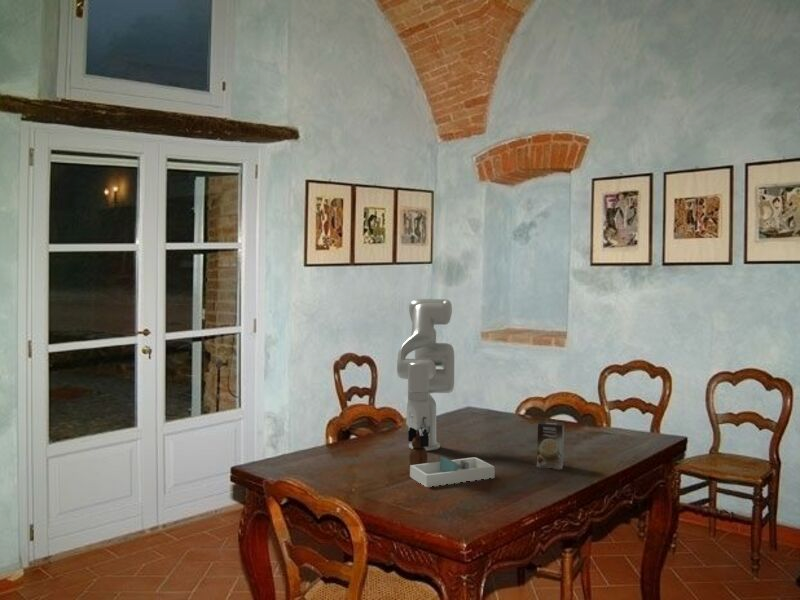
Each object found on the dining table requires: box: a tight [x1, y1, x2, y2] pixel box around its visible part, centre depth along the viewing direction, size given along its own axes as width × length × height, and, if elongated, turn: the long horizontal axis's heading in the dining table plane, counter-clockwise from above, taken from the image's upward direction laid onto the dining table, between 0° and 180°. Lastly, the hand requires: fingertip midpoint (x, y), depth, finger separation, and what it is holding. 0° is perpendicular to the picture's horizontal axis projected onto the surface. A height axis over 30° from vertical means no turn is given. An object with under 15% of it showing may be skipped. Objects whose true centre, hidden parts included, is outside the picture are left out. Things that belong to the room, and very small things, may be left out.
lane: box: [409, 456, 496, 488], centre depth 242 cm, size 13×26×4 cm, turn 114°
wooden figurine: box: [408, 429, 428, 465], centre depth 252 cm, size 7×6×15 cm
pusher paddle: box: [439, 455, 469, 472], centre depth 242 cm, size 10×7×5 cm
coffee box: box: [536, 419, 565, 470], centre depth 255 cm, size 9×6×16 cm
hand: (418, 443), depth 252 cm, fingers open, 9 cm apart
